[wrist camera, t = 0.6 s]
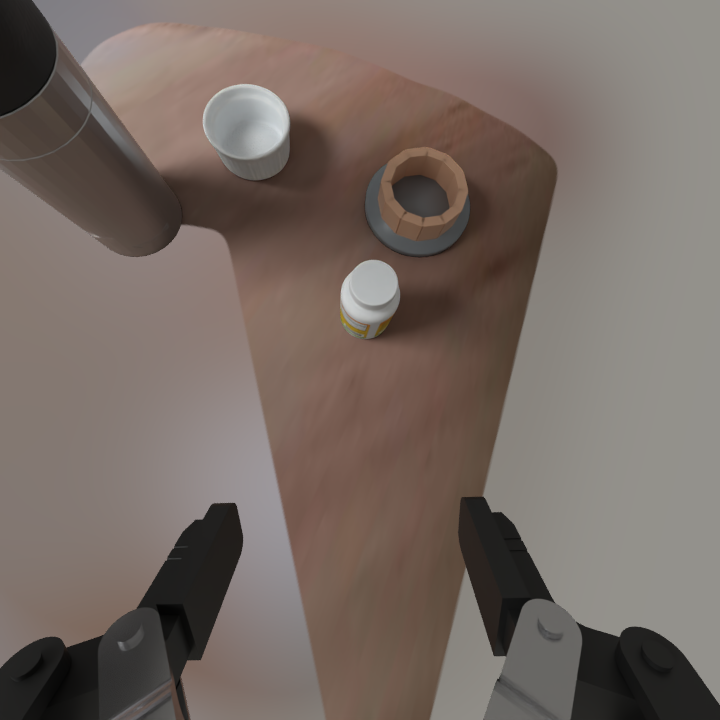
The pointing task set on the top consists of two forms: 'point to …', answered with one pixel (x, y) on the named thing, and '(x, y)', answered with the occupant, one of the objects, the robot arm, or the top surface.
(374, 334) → the supplement bottle
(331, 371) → the top surface
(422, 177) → the holder
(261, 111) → the ramekin
